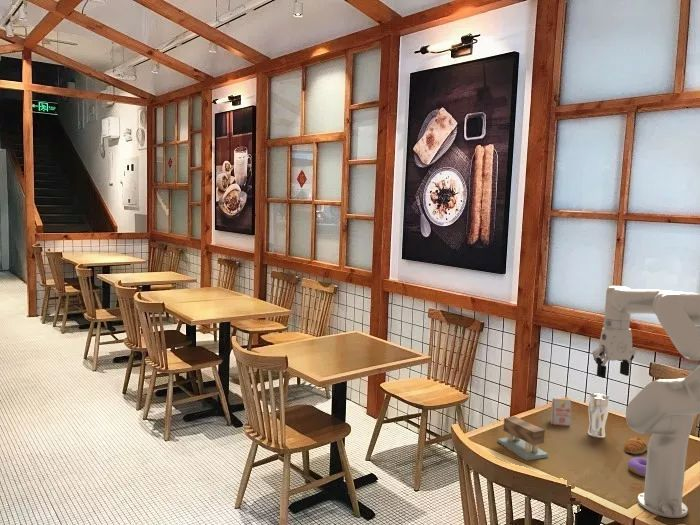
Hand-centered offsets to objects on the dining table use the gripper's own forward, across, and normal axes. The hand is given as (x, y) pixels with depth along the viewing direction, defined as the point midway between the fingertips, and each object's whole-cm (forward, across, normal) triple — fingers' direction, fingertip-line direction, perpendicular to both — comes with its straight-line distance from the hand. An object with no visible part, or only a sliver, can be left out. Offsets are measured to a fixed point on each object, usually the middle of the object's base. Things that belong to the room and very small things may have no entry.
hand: (612, 375), depth 186 cm
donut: (+31, +8, -8) cm, 33 cm away
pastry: (+31, +20, +6) cm, 37 cm away
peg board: (+30, -20, +18) cm, 41 cm away
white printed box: (+31, +11, +35) cm, 48 cm away
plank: (+26, -20, +18) cm, 37 cm away
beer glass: (+31, +16, +22) cm, 41 cm away
